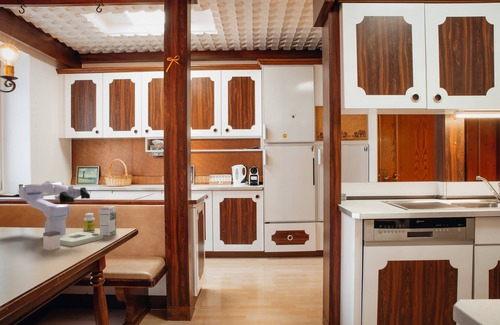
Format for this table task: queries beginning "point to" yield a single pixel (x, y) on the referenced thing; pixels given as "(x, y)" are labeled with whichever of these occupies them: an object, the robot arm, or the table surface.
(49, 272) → the table surface
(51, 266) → the table surface
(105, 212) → the syrup box
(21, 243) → the table surface
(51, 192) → the robot arm
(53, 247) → the plug
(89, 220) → the supplement bottle
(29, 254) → the table surface
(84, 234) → the socket block
